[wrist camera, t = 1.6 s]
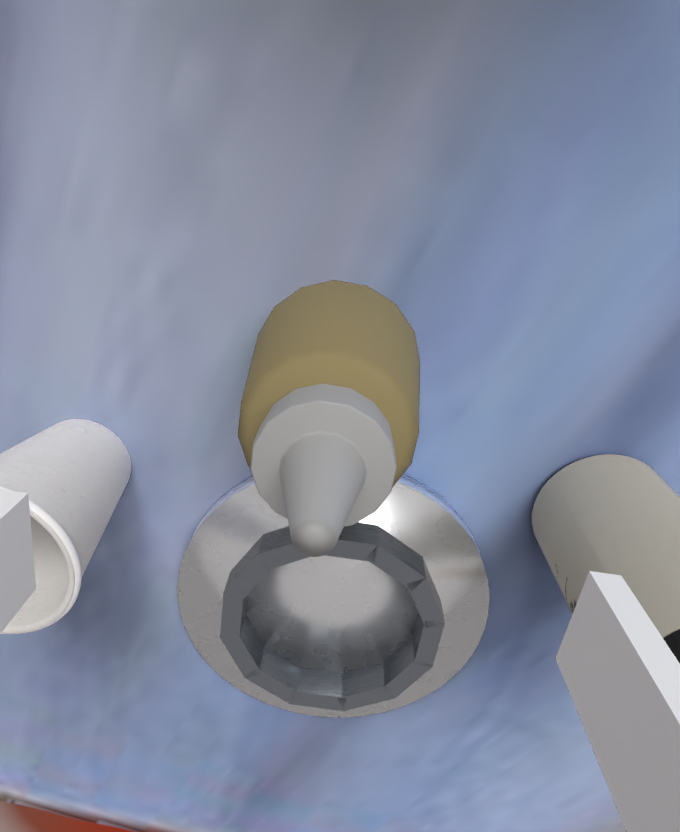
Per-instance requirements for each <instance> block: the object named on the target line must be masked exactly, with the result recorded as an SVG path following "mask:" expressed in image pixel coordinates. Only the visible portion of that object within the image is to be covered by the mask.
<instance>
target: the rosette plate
mask: <svg viewBox="0 0 680 832" xmlns="http://www.w3.org/2000/svg"><path fill="white" fill-rule="evenodd" d="M177 587H178V604H179V608H180V613H181V618H182V621H183V623H184V626H185V628H186V631H187V634H188V635H189V637H190V639H191V641H192V643H193V644H194V646H195V648H196V649H197V650H198V652H199V653H200V654H201V656H202V657H203V658H204V660H205V661H206V662H207V663H208V664H209V665H210V666H211V667H212V668H213V669H214V670H215V671H216V672H217V673H218V674H219V675H220V676H221V677H223V678H224V679H225V680H226V681H228V682H229V683H230V684H231V685H233V686H235V687H236V688H238V689H239V690H241V691H242V692H244V693H246V694H248V695H249V696H251V697H253V698H255V699H257V700H259V701H261V702H264V703H267V704H269V705H272V706H274V707H277V708H280V709H284V710H288V711H291V712H295V713H300V714H305V715H311V716H320V717H358V716H368V715H373V714H378V713H383V712H387V711H390V710H394V709H397V708H400V707H403V706H406V705H408V704H410V703H413V702H415V701H418V700H420V699H422V698H423V697H425V696H427V695H429V694H430V693H432V692H434V691H435V690H437V689H438V688H440V687H441V686H442V685H444V684H445V683H447V682H448V681H449V680H450V679H451V678H452V677H453V676H454V675H455V674H456V673H458V672H459V671H460V670H461V668H462V667H463V666H464V665H465V664H466V662H467V661H468V660H469V659H470V657H471V656H472V654H473V652H474V651H475V649H476V647H477V646H478V644H479V642H480V640H481V637H482V635H483V632H484V630H485V627H486V622H487V618H488V614H489V600H490V595H489V585H488V579H487V575H486V571H485V568H484V564H483V561H482V558H481V554H480V551H479V548H478V546H477V544H476V542H475V540H474V537H473V535H472V533H471V532H470V530H469V529H468V527H467V526H466V524H465V523H464V521H463V520H462V518H461V517H460V516H459V515H458V514H457V512H456V511H455V510H454V509H453V508H452V507H451V506H450V505H449V504H448V503H447V502H446V501H445V500H444V499H442V498H441V497H440V496H439V495H438V494H436V493H435V492H434V491H432V490H431V489H429V488H428V487H426V486H425V485H423V484H421V483H420V482H418V481H417V480H415V479H412V478H410V477H408V476H406V475H404V474H403V475H402V476H401V477H400V479H399V480H398V481H397V483H396V484H395V485H394V487H393V488H392V491H391V493H390V494H389V495H388V496H387V498H386V499H385V500H384V502H383V503H382V504H381V506H380V507H379V508H378V510H377V511H376V512H374V513H373V514H371V515H369V516H368V517H366V518H364V519H362V520H361V521H359V522H357V523H356V524H354V525H350V526H344V527H343V529H342V532H341V534H340V536H339V538H338V540H337V543H336V545H335V546H334V548H333V549H332V550H331V552H329V553H327V554H326V555H324V556H318V557H311V556H306V555H304V554H302V553H300V552H299V551H298V550H297V549H296V548H295V547H294V546H293V543H292V540H291V535H290V529H289V523H288V519H286V518H285V517H283V516H281V515H279V514H277V513H275V511H274V510H273V509H272V508H271V507H270V506H269V505H268V504H267V502H266V501H265V500H264V499H263V498H262V497H261V496H260V494H259V493H258V491H257V488H256V485H255V482H254V479H253V476H252V477H250V478H248V479H246V480H245V481H243V482H241V483H239V484H238V485H236V486H235V487H233V488H232V489H231V490H229V491H228V492H227V493H226V494H224V495H223V496H222V497H221V498H220V499H219V500H218V501H217V502H216V503H215V504H214V505H213V506H212V507H211V508H210V509H209V510H208V511H207V513H206V514H205V516H204V517H203V518H202V520H201V521H200V523H199V524H198V526H197V528H196V530H195V532H194V534H193V536H192V538H191V540H190V543H189V545H188V547H187V549H186V551H185V553H184V556H183V560H182V563H181V566H180V570H179V578H178V586H177Z"/></svg>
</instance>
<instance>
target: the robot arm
mask: <svg viewBox="0 0 680 832" xmlns="http://www.w3.org/2000/svg"><path fill="white" fill-rule="evenodd" d="M35 590H36V580H35V568H34V556H33V544H32V532H31V520H30V508H29V496H28V493H25V492H17V491H10V490H3V489H0V634H1V632H2V631H3V630H4V629H5V627H6V626H7V625H8V624H9V622H10V621H11V620H12V619H13V617H14V616H15V615H16V614H17V612H18V611H19V610H20V608H21V607H22V606H23V605H24V603H25V602H26V601H27V600H28V598H29V597H30V596H31V595H32V593H33V592H34V591H35ZM555 659H556V661H557V664H558V666H559V669H560V671H561V673H562V676H563V678H564V681H565V683H566V686H567V688H568V691H569V693H570V695H571V698H572V700H573V703H574V705H575V708H576V710H577V712H578V715H579V717H580V720H581V722H582V725H583V727H584V729H585V732H586V734H587V737H588V739H589V742H590V744H591V747H592V749H593V751H594V754H595V756H596V759H597V761H598V764H599V766H600V768H601V771H602V773H603V776H604V778H605V781H606V783H607V786H608V788H609V790H610V793H611V795H612V798H613V800H614V803H615V805H616V807H617V810H618V812H619V815H620V817H621V820H622V822H623V824H624V827H625V829H626V832H680V663H679V662H678V660H677V659H676V657H675V656H674V654H673V653H672V651H671V650H670V648H669V647H668V645H667V644H666V642H665V641H664V639H663V638H662V636H661V635H660V633H659V632H658V630H657V629H656V627H655V626H654V624H653V623H652V621H651V620H650V618H649V617H648V615H647V614H646V612H645V611H644V609H643V608H642V606H641V604H640V603H639V601H638V600H637V598H636V597H635V595H634V594H633V592H632V591H631V589H630V588H629V586H628V585H627V583H626V582H625V580H624V579H623V577H622V576H621V575H615V574H608V573H601V572H593V571H589V573H588V576H587V578H586V581H585V583H584V586H583V589H582V591H581V594H580V596H579V599H578V601H577V604H576V607H575V609H574V612H573V614H572V617H571V619H570V622H569V625H568V627H567V630H566V632H565V635H564V638H563V640H562V643H561V645H560V648H559V650H558V653H557V656H556V658H555Z"/></svg>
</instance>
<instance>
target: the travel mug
mask: <svg viewBox="0 0 680 832" xmlns="http://www.w3.org/2000/svg"><path fill="white" fill-rule="evenodd" d="M532 528H533V532H534V535H535V537H536V539H537V541H538V543H539V545H540V547H541V550H542V552H543V554H544V556H545V558H546V560H547V562H548V564H549V566H550V568H551V570H552V573H553V575H554V577H555V579H556V581H557V583H558V585H559V587H560V589H561V591H562V594H563V596H564V598H565V600H566V602H567V604H568V606H569V608H570V610H571V612H572V614H573V612H574V609H575V607H576V604H577V601H578V599H579V596H580V594H581V591H582V589H583V586H584V583H585V581H586V578H587V576H588V573H589V571H593V572H601V573H608V574H615V575H621V576H622V577H623V579H624V580H625V582H626V583H627V585H628V586H629V588H630V589H631V591H632V592H633V594H634V595H635V597H636V598H637V600H638V601H639V603H640V604H641V606H642V608H643V609H644V611H645V612H646V614H647V615H648V617H649V618H650V620H651V621H652V623H653V624H654V626H655V627H656V629H657V630H658V632H659V633H660V635H661V636H662V638H663V639H664V641H665V642H666V644H667V645H668V647H669V648H670V650H671V651H672V653H673V654H674V656H675V657H676V659H677V660H678V662H679V663H680V496H679V495H678V494H677V493H676V492H675V491H674V490H673V489H672V488H671V487H670V486H669V485H668V484H667V483H666V482H665V481H664V480H663V479H662V478H661V477H660V476H659V475H658V474H657V473H656V472H655V471H654V470H653V469H652V468H651V467H649V466H648V465H646V464H645V463H643V462H641V461H639V460H637V459H634V458H631V457H628V456H623V455H614V454H606V455H596V456H591V457H587V458H584V459H581V460H578V461H576V462H574V463H572V464H570V465H568V466H566V467H564V468H563V469H561V470H560V471H558V472H557V473H556V474H555V475H554V476H552V477H551V478H550V479H549V480H548V481H547V483H546V484H545V485H544V486H543V488H542V489H541V491H540V492H539V494H538V496H537V498H536V500H535V503H534V506H533V510H532Z"/></svg>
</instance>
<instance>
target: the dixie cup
mask: <svg viewBox="0 0 680 832" xmlns="http://www.w3.org/2000/svg"><path fill="white" fill-rule="evenodd" d="M131 466H132V464H131V459H130V455H129V453H128V450H127V449H126V447H125V445H124V444H123V442H122V441H121V440H120V439H119V437H118V436H117V435H115V434H114V433H113V432H112V431H111V430H109V429H108V428H106V427H104V426H103V425H101V424H98V423H96V422H93V421H90V420H85V419H68V420H64V421H61V422H58V423H56V424H54V425H52V426H51V427H49V428H47V429H45V430H43V431H41V432H40V433H38V434H36V435H34V436H32V437H30V438H28V439H27V440H25V441H23V442H21V443H19V444H17V445H16V446H14V447H12V448H10V449H8V450H6V451H4V452H3V453H1V454H0V489H3V490H10V491H17V492H25V493H28V496H29V508H30V520H31V532H32V544H33V556H34V568H35V580H36V590H35V591H34V592H33V593H32V595H31V596H30V597H29V598H28V600H27V601H26V602H25V603H24V605H23V606H22V607H21V608H20V610H19V611H18V612H17V614H16V615H15V616H14V617H13V619H12V620H11V621H10V622H9V624H8V625H7V626H6V627H5V629H4V630H3V631H2V632H1V634H21V633H28V632H33V631H37V630H40V629H43V628H45V627H48V626H50V625H52V624H53V623H55V622H57V621H58V620H60V619H61V618H62V617H63V616H64V615H65V614H66V613H67V612H68V611H69V610H70V609H71V607H72V606H73V604H74V603H75V601H76V599H77V597H78V594H79V591H80V587H81V578H82V576H83V574H84V572H85V570H86V568H87V566H88V564H89V561H90V559H91V557H92V555H93V553H94V551H95V549H96V547H97V545H98V543H99V541H100V539H101V537H102V535H103V533H104V530H105V528H106V526H107V524H108V522H109V520H110V518H111V516H112V514H113V512H114V510H115V508H116V506H117V504H118V502H119V499H120V497H121V495H122V493H123V491H124V489H125V487H126V485H127V483H128V481H129V478H130V475H131Z"/></svg>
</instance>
